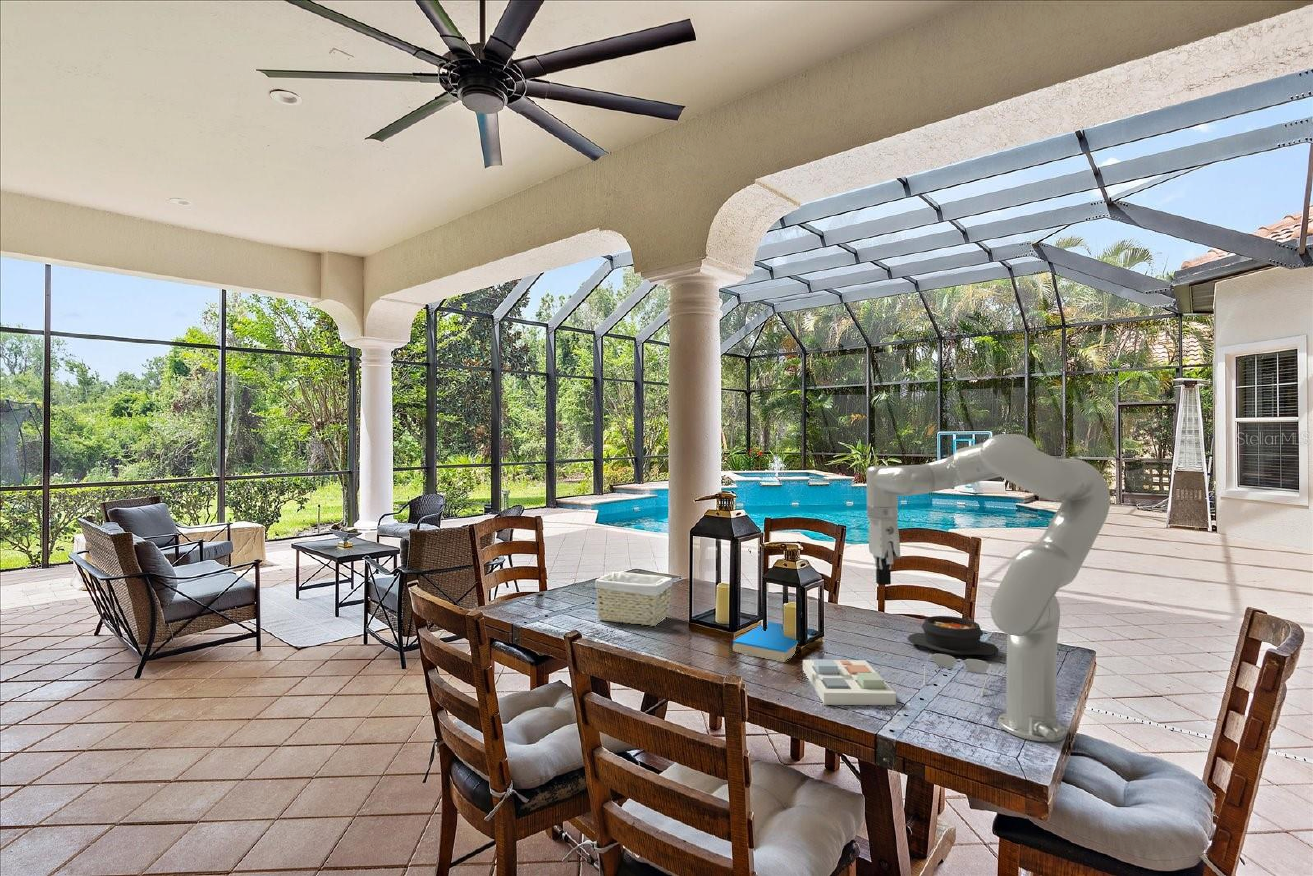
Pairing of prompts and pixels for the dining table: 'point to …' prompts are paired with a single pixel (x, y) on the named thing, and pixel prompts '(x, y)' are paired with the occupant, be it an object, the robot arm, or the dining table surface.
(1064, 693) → the dining table surface
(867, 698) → the keypad
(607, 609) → the storage basket
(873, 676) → the key sage
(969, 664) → the eyeglasses
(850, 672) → the key terracotta
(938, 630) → the casserole
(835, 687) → the key slate
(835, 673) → the key blue
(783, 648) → the book
